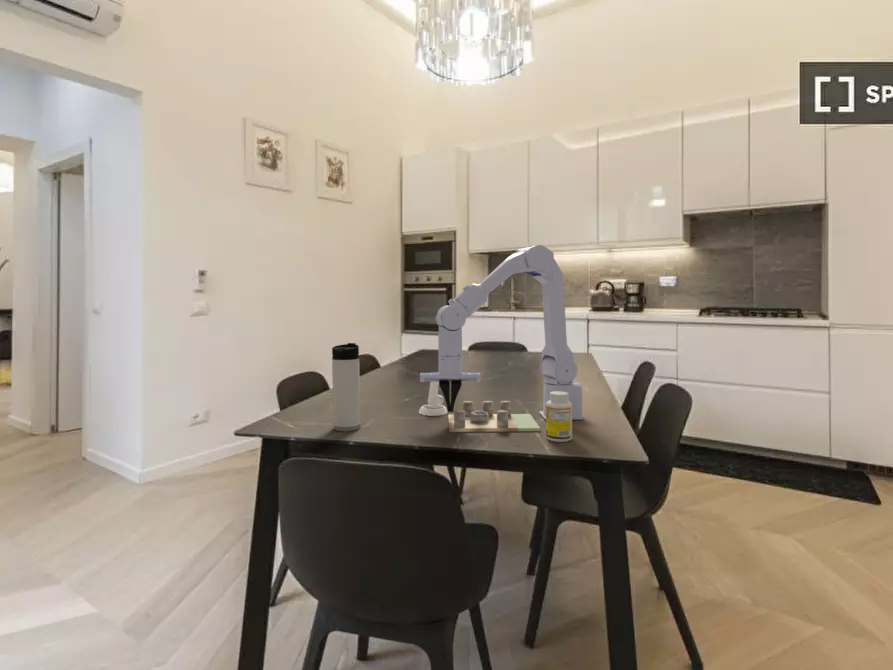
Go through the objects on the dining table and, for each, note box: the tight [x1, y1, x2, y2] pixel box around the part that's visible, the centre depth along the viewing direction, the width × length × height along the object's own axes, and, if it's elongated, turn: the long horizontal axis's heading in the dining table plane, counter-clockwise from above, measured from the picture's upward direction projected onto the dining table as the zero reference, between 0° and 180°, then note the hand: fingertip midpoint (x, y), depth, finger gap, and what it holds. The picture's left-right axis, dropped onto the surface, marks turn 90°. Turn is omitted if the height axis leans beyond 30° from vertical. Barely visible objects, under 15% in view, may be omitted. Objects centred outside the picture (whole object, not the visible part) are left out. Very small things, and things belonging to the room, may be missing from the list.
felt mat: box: [511, 413, 541, 432], centre depth 128 cm, size 5×14×1 cm, turn 0°
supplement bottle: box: [545, 391, 573, 443], centre depth 115 cm, size 6×6×10 cm
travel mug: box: [331, 342, 361, 433], centre depth 124 cm, size 6×7×20 cm
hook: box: [418, 382, 448, 417], centre depth 143 cm, size 8×12×7 cm
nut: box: [470, 410, 488, 423], centre depth 128 cm, size 5×4×2 cm
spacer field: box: [447, 400, 520, 433], centre depth 128 cm, size 16×14×4 cm
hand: (450, 411), depth 128 cm, fingers closed
